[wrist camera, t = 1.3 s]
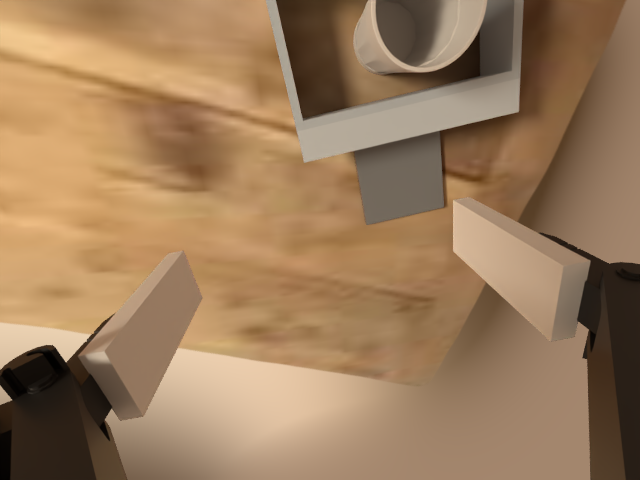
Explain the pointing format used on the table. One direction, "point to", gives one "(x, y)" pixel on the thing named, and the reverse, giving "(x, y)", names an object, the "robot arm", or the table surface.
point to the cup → (415, 33)
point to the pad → (400, 177)
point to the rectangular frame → (418, 94)
